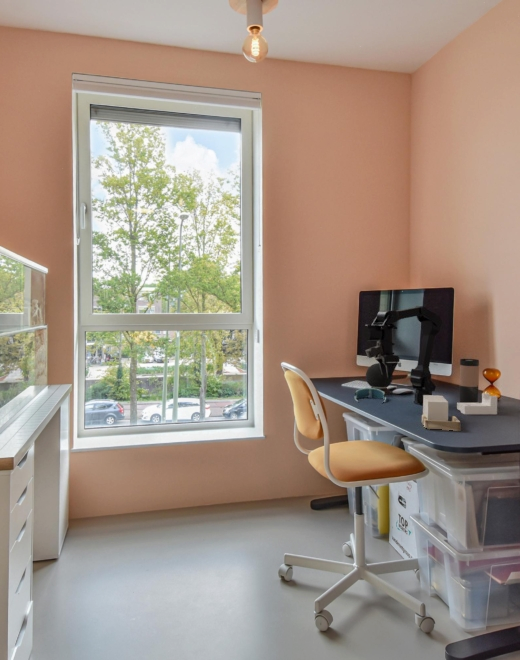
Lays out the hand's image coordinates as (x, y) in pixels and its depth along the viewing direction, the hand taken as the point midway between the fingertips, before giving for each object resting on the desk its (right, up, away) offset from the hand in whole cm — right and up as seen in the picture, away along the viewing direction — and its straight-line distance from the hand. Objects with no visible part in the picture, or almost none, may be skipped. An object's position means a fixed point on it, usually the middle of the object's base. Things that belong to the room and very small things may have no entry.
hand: (386, 376), depth 200 cm
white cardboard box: (+13, -14, -21) cm, 28 cm away
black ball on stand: (+6, -12, +36) cm, 38 cm away
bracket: (+34, -14, -9) cm, 38 cm away
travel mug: (+38, -13, +6) cm, 40 cm away
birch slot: (+10, -15, -33) cm, 37 cm away
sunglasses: (-3, -13, +17) cm, 22 cm away
